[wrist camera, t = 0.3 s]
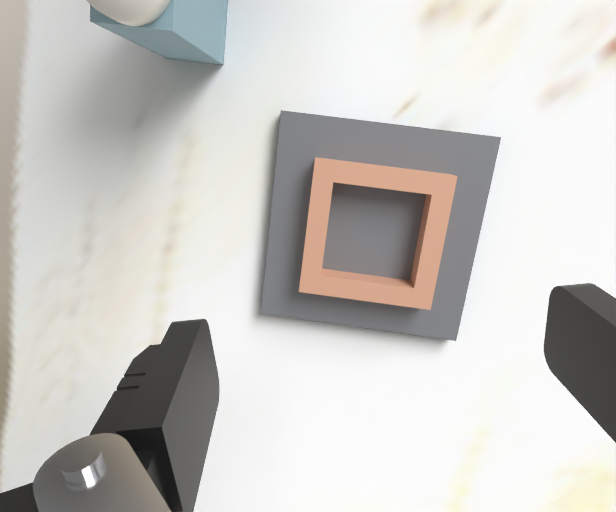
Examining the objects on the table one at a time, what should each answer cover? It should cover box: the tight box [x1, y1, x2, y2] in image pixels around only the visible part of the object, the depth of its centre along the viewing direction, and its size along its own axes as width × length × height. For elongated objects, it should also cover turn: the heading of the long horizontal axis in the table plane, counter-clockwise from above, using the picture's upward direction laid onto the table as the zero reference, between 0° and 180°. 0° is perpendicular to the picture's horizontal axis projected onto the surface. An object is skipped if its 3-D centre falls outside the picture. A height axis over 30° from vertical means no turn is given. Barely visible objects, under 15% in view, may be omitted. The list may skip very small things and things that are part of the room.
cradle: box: [261, 111, 501, 341], centre depth 34 cm, size 16×16×3 cm
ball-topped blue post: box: [87, 0, 228, 65], centre depth 27 cm, size 4×4×12 cm
